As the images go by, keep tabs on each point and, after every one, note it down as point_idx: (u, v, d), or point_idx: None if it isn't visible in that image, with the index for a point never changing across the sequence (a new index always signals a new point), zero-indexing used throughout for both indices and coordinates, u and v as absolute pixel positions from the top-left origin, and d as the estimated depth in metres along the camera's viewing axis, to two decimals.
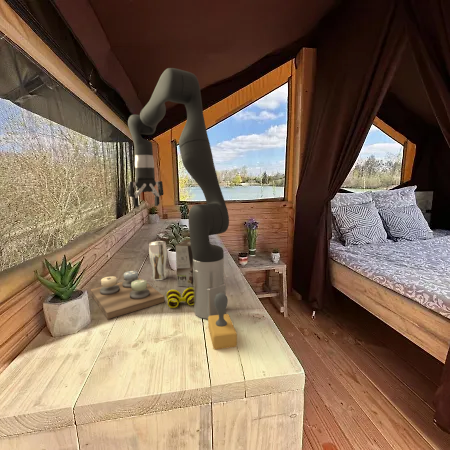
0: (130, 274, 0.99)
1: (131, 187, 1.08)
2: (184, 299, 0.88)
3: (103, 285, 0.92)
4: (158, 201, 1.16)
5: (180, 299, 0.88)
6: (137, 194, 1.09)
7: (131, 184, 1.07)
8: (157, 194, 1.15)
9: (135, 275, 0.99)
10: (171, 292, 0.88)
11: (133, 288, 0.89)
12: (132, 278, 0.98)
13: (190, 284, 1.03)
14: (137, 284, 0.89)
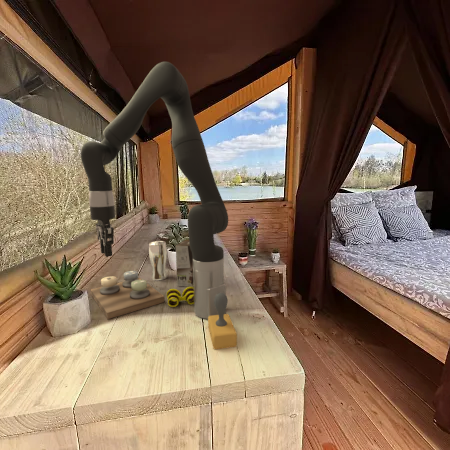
0: (130, 274, 0.99)
1: None
2: (184, 298, 0.89)
3: (103, 285, 0.92)
4: None
5: (180, 298, 0.89)
6: None
7: None
8: None
9: (135, 275, 0.99)
10: (171, 291, 0.89)
11: (133, 288, 0.89)
12: (132, 278, 0.98)
13: (190, 284, 1.03)
14: (137, 284, 0.89)
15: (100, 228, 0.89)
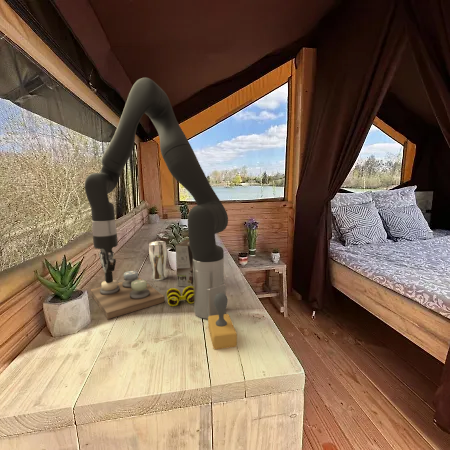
0: (130, 274, 0.99)
1: None
2: (184, 297, 0.90)
3: (103, 288, 0.93)
4: None
5: (180, 297, 0.89)
6: None
7: None
8: None
9: (135, 275, 0.99)
10: (171, 290, 0.90)
11: (133, 288, 0.89)
12: (132, 278, 0.98)
13: (190, 284, 1.03)
14: (137, 284, 0.89)
15: (103, 257, 0.91)
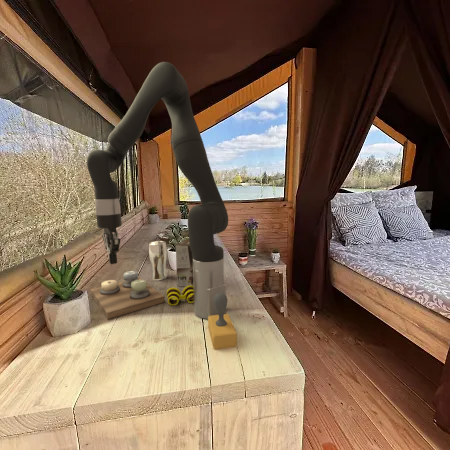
0: (130, 274, 0.99)
1: None
2: (184, 297, 0.90)
3: (103, 289, 0.93)
4: None
5: (180, 297, 0.90)
6: None
7: None
8: None
9: (135, 275, 0.99)
10: (171, 290, 0.90)
11: (133, 288, 0.89)
12: (132, 278, 0.98)
13: (190, 284, 1.03)
14: (137, 284, 0.89)
15: (107, 237, 0.88)
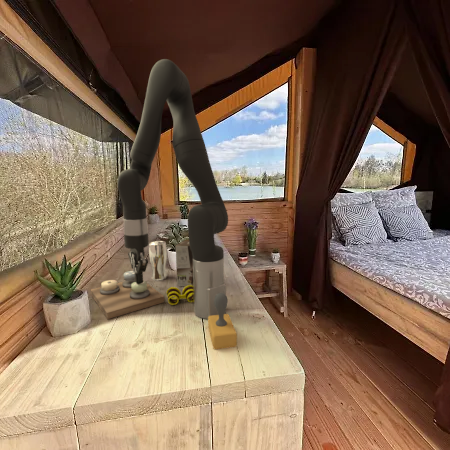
0: (130, 274, 0.99)
1: None
2: (184, 296, 0.90)
3: (103, 289, 0.93)
4: None
5: (180, 296, 0.90)
6: None
7: None
8: None
9: None
10: (171, 289, 0.91)
11: (133, 289, 0.89)
12: (132, 278, 0.98)
13: (190, 284, 1.03)
14: (137, 285, 0.89)
15: (134, 257, 0.87)
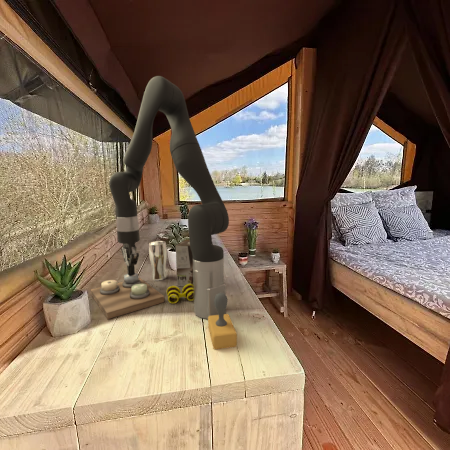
0: (130, 276, 0.99)
1: None
2: (184, 295, 0.91)
3: (103, 289, 0.93)
4: None
5: (180, 295, 0.91)
6: None
7: None
8: None
9: (135, 277, 0.99)
10: (171, 288, 0.91)
11: (133, 292, 0.89)
12: (132, 280, 0.98)
13: None
14: (137, 288, 0.89)
15: (126, 251, 0.96)
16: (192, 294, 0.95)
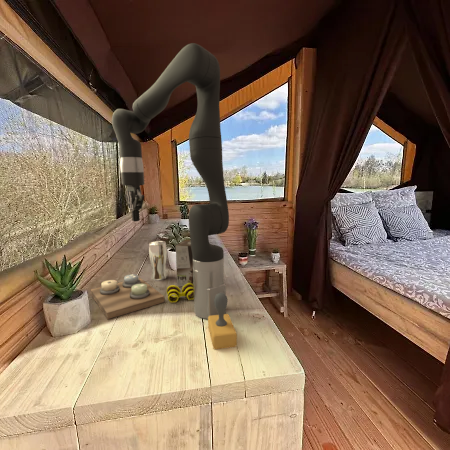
0: (130, 278, 0.99)
1: None
2: (184, 294, 0.92)
3: (103, 289, 0.93)
4: None
5: (180, 294, 0.92)
6: None
7: None
8: None
9: (135, 279, 0.99)
10: (171, 287, 0.92)
11: (133, 292, 0.89)
12: (132, 282, 0.98)
13: None
14: (137, 288, 0.89)
15: (131, 194, 0.93)
16: (192, 293, 0.95)
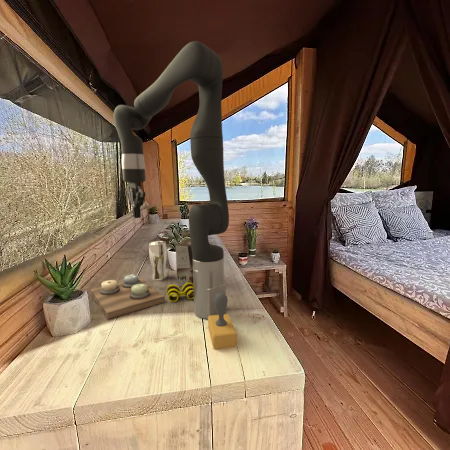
0: (130, 278, 0.99)
1: None
2: (183, 293, 0.93)
3: (103, 289, 0.93)
4: None
5: (180, 293, 0.92)
6: None
7: None
8: None
9: (135, 279, 0.99)
10: (171, 287, 0.93)
11: (133, 292, 0.89)
12: (132, 282, 0.98)
13: None
14: (137, 288, 0.89)
15: (132, 191, 0.93)
16: (192, 293, 0.96)
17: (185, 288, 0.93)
